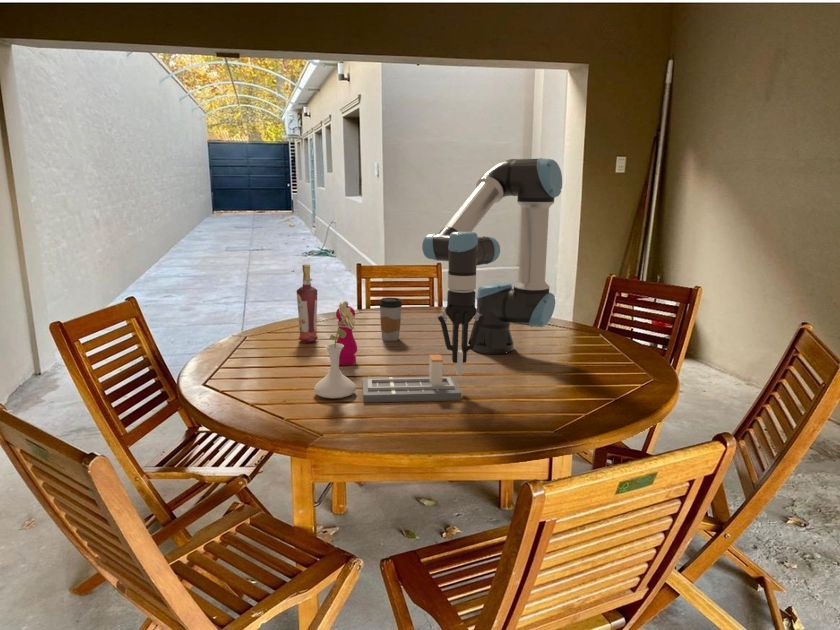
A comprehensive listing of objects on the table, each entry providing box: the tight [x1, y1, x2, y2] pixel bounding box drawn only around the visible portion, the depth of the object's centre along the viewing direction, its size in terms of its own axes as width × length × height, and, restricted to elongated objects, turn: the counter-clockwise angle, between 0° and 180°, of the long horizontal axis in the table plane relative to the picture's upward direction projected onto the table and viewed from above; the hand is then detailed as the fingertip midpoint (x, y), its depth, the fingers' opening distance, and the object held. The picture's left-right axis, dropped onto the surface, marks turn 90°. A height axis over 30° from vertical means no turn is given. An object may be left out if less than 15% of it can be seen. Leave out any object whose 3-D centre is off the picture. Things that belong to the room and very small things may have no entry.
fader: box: [428, 354, 444, 385], centre depth 158 cm, size 3×5×8 cm, turn 6°
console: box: [362, 375, 462, 403], centre depth 159 cm, size 26×14×3 cm, turn 96°
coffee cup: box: [378, 297, 403, 342], centre depth 212 cm, size 8×8×15 cm
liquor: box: [296, 264, 319, 344], centre depth 206 cm, size 7×7×28 cm
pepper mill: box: [335, 300, 358, 366], centre depth 183 cm, size 7×7×20 cm
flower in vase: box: [313, 302, 357, 399], centre depth 154 cm, size 13×11×25 cm
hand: (458, 373), depth 159 cm, fingers closed
